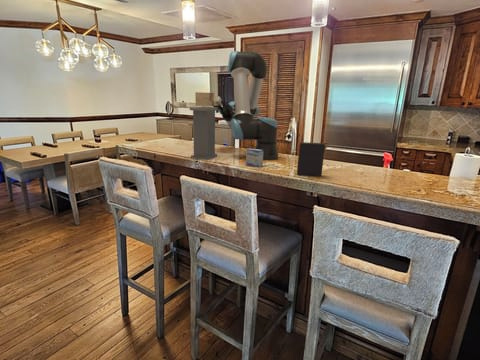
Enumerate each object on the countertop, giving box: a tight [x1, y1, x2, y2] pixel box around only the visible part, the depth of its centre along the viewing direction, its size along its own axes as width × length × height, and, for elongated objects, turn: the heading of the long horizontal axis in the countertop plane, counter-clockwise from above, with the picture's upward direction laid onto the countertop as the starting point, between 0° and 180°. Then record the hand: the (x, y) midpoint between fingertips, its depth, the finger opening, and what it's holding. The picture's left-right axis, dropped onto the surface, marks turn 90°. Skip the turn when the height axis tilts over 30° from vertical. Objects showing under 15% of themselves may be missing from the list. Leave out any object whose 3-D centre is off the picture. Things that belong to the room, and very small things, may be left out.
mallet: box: [194, 91, 220, 107], centre depth 167 cm, size 27×8×7 cm, turn 159°
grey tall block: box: [189, 106, 218, 161], centre depth 162 cm, size 16×11×28 cm
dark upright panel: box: [296, 141, 326, 177], centre depth 131 cm, size 11×4×15 cm, turn 84°
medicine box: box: [245, 148, 264, 168], centre depth 147 cm, size 8×4×9 cm, turn 62°
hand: (215, 98), depth 170 cm, fingers closed on mallet, 2 cm apart
